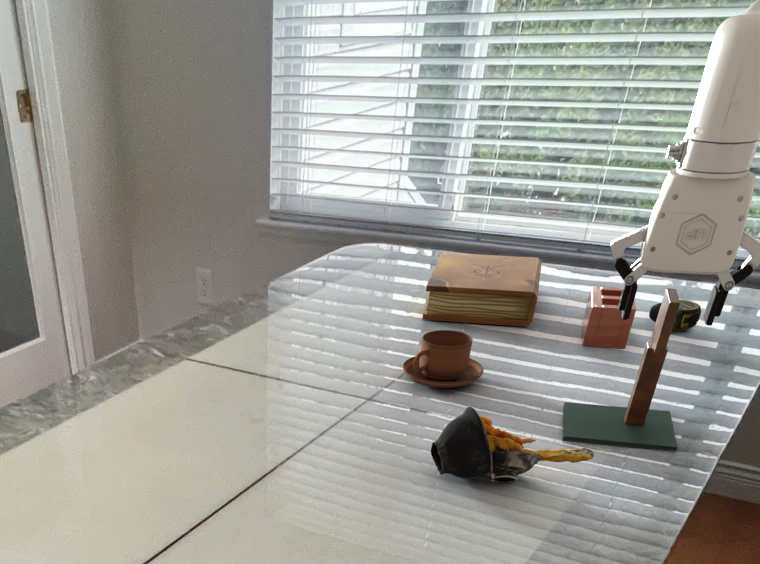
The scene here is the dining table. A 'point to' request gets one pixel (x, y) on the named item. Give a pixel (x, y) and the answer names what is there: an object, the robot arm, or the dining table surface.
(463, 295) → the diary
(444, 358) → the cup and saucer
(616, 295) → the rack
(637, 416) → the notched brown wooden bar
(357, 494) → the dining table surface
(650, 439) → the mat
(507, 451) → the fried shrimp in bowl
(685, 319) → the tape measure
